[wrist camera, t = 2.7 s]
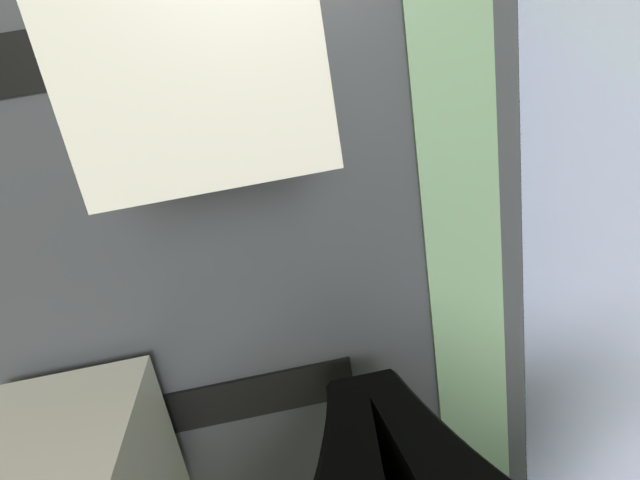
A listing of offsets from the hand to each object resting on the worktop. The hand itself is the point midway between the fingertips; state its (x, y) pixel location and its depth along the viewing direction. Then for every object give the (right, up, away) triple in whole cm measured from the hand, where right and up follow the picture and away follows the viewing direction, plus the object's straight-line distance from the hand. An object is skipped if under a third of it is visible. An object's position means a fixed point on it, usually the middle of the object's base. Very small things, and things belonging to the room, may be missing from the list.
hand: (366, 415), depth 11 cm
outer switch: (-3, +7, -2) cm, 8 cm away
